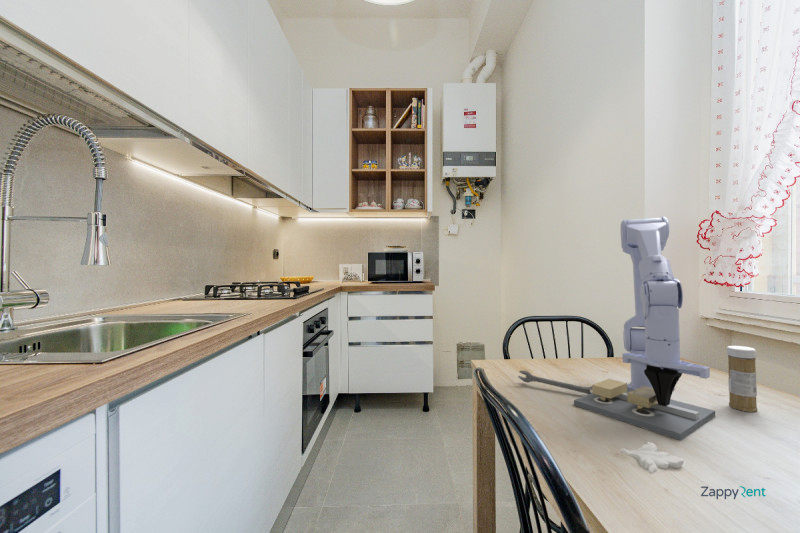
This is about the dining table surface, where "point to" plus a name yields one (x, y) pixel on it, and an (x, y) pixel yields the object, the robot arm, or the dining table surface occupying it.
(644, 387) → the block
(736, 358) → the sprinkles bottle
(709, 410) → the bolt plate
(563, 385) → the combination wrench
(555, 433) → the dining table surface
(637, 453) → the acanthus leaf ornament
